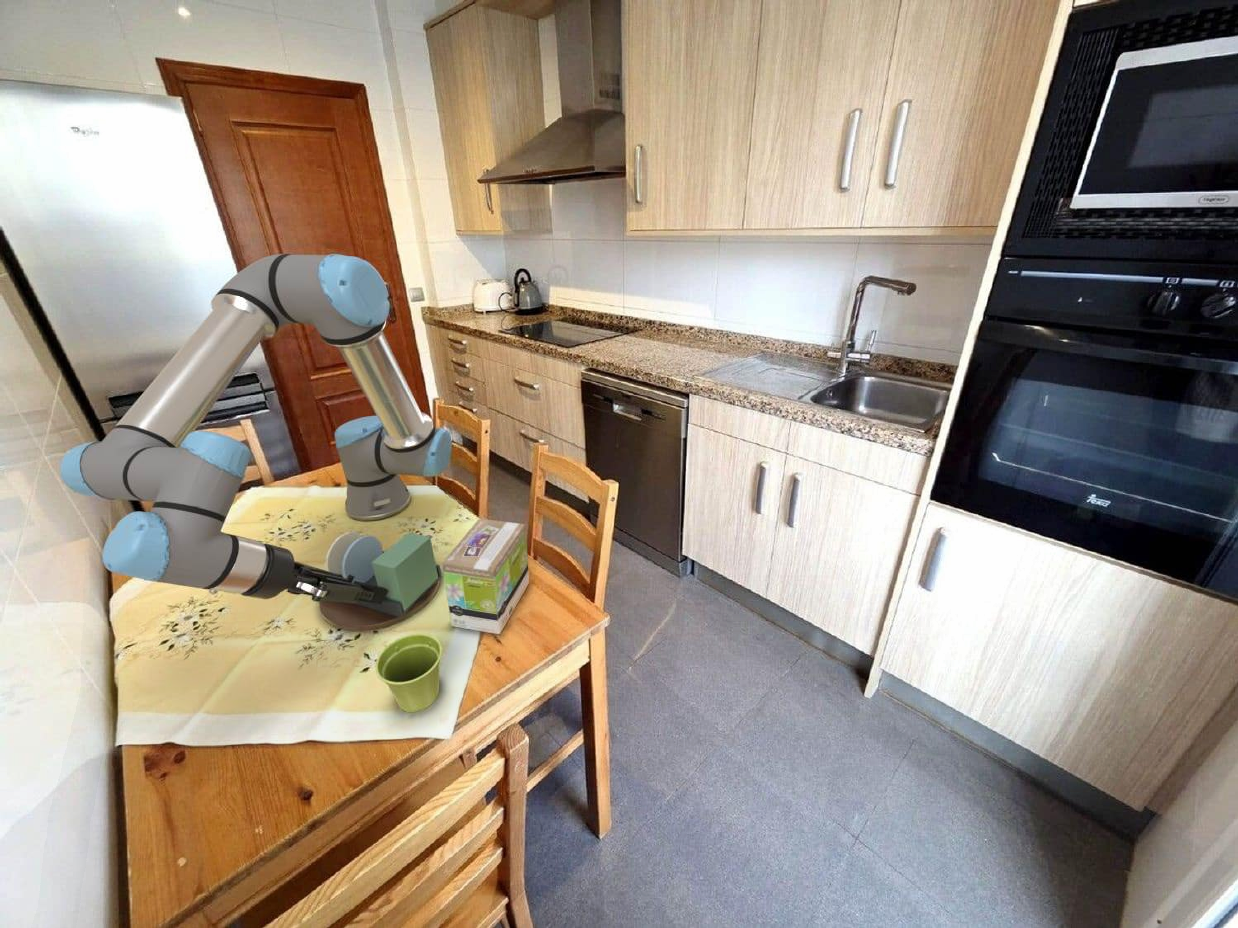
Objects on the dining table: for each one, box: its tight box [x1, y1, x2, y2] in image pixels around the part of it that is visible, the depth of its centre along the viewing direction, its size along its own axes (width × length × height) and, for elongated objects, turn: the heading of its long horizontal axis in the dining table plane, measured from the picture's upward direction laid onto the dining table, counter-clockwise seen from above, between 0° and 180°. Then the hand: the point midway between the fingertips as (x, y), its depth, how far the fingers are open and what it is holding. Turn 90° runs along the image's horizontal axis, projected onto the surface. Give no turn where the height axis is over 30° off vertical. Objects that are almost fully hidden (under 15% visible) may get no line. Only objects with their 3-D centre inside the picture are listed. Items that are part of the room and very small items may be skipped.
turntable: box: [318, 579, 441, 632], centre depth 101 cm, size 22×22×1 cm
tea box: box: [441, 517, 530, 635], centre depth 94 cm, size 15×10×15 cm, turn 168°
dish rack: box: [325, 531, 443, 618], centre depth 98 cm, size 20×12×11 cm, turn 71°
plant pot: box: [374, 633, 443, 713], centre depth 77 cm, size 9×9×9 cm
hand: (382, 596), depth 91 cm, fingers closed
